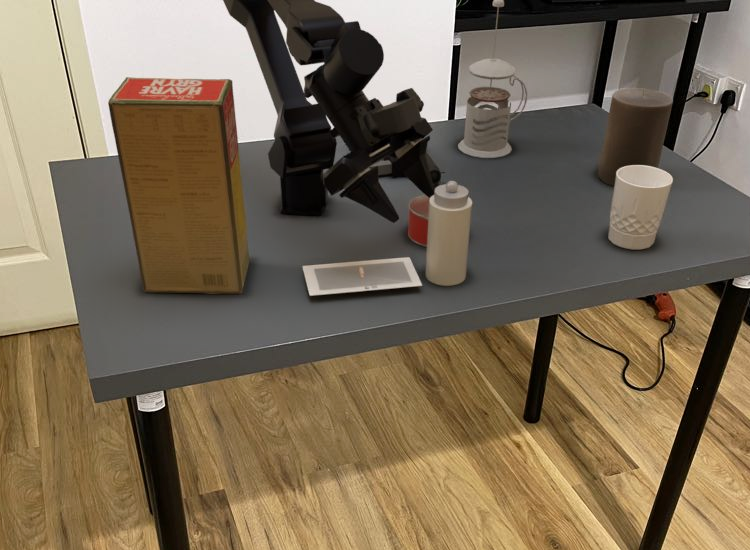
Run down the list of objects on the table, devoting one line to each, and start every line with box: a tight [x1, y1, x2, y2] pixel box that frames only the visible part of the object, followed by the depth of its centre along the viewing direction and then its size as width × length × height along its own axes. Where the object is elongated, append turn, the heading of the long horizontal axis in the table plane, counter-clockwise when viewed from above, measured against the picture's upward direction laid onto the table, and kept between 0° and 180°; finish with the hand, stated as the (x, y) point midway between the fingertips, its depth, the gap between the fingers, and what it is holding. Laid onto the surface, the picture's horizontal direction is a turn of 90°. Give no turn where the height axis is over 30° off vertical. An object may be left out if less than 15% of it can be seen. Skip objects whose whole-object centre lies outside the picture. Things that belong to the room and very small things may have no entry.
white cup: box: [607, 165, 674, 251], centre depth 121 cm, size 8×8×10 cm
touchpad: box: [301, 256, 423, 297], centre depth 111 cm, size 8×15×2 cm, turn 102°
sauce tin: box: [407, 194, 430, 248], centre depth 122 cm, size 8×8×5 cm
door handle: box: [369, 150, 446, 185], centre depth 142 cm, size 3×20×16 cm
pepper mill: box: [424, 180, 473, 287], centre depth 110 cm, size 6×6×14 cm
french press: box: [457, 0, 528, 159], centre depth 143 cm, size 10×12×25 cm
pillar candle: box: [597, 87, 674, 187], centre depth 137 cm, size 10×10×15 cm
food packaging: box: [107, 77, 251, 295], centre depth 105 cm, size 13×9×25 cm
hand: (415, 208), depth 111 cm, fingers open, 9 cm apart
